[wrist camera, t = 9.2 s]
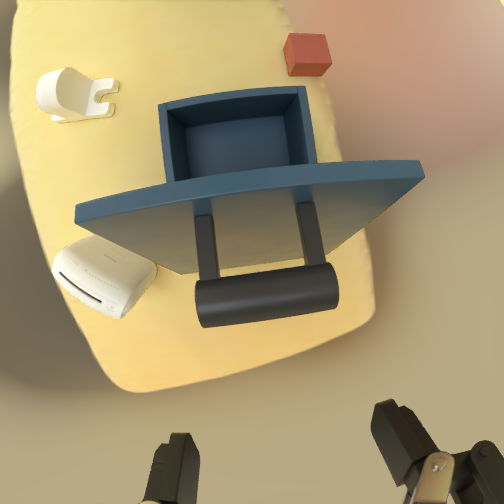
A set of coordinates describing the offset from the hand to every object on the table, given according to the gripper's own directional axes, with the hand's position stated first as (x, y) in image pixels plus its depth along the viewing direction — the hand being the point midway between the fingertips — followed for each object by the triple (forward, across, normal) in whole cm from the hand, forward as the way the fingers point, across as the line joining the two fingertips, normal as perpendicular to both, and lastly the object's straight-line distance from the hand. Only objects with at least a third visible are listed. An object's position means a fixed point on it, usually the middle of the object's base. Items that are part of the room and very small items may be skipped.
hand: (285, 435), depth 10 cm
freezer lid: (+9, 0, -7) cm, 12 cm away
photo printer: (+27, +17, -3) cm, 32 cm away
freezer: (+27, 0, -11) cm, 29 cm away
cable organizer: (+27, +20, -26) cm, 42 cm away
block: (+27, -10, -26) cm, 39 cm away
